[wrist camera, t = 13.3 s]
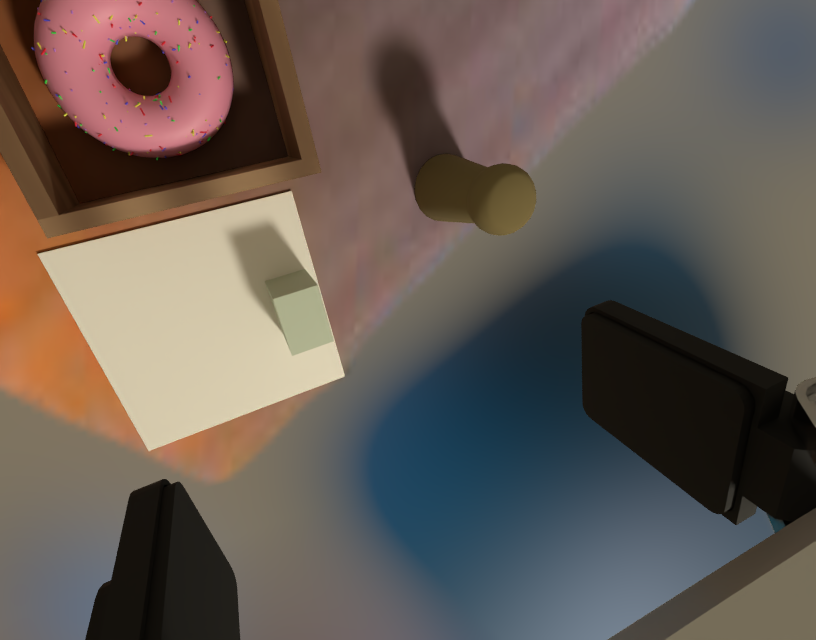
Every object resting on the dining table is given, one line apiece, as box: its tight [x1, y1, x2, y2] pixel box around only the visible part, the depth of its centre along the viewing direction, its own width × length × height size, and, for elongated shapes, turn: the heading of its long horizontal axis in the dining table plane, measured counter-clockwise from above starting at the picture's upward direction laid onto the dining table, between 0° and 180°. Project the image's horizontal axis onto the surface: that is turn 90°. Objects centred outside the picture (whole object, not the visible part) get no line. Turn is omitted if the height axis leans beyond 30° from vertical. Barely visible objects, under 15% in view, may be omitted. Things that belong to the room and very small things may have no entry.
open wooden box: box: [0, 0, 321, 238], centre depth 28 cm, size 17×17×6 cm
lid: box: [38, 191, 345, 451], centre depth 36 cm, size 18×18×6 cm
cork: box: [415, 154, 536, 235], centre depth 37 cm, size 6×6×11 cm
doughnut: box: [31, 0, 234, 160], centre depth 29 cm, size 11×11×4 cm
